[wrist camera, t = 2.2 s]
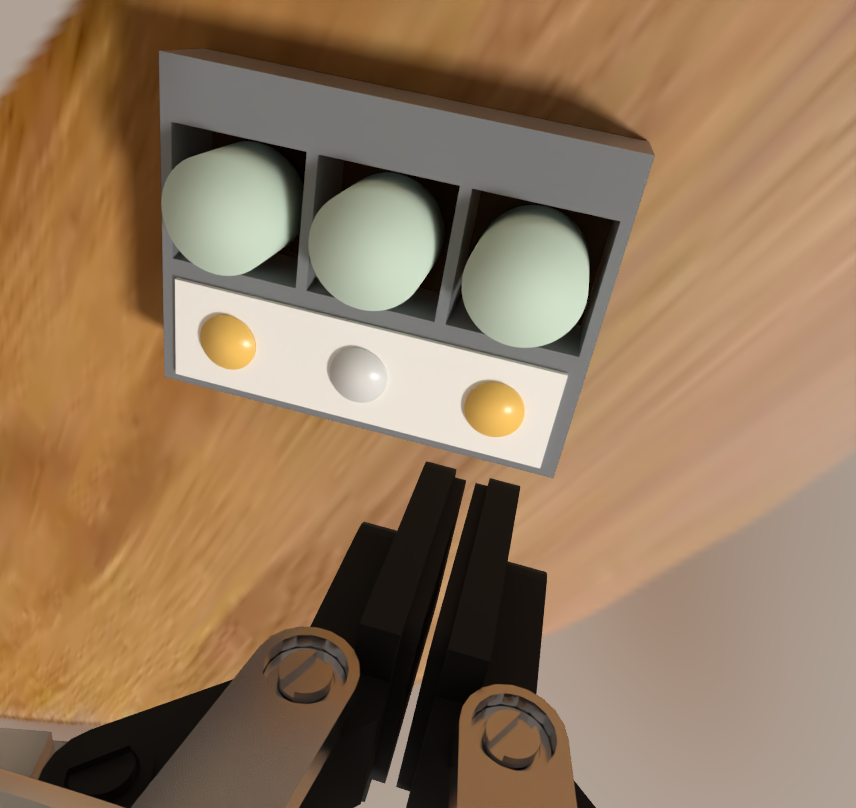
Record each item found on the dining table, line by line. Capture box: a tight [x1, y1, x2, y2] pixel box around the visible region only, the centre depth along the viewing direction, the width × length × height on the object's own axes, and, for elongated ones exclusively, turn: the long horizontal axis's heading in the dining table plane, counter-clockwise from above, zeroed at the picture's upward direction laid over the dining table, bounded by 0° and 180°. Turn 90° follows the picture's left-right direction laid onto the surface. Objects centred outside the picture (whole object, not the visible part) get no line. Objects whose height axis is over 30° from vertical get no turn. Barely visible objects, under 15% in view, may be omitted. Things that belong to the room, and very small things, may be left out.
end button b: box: [462, 205, 590, 348], centre depth 24 cm, size 4×4×3 cm
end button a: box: [161, 141, 304, 276], centre depth 25 cm, size 4×4×3 cm
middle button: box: [308, 172, 445, 311], centre depth 24 cm, size 4×4×3 cm
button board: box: [159, 48, 655, 478], centre depth 26 cm, size 12×16×3 cm
